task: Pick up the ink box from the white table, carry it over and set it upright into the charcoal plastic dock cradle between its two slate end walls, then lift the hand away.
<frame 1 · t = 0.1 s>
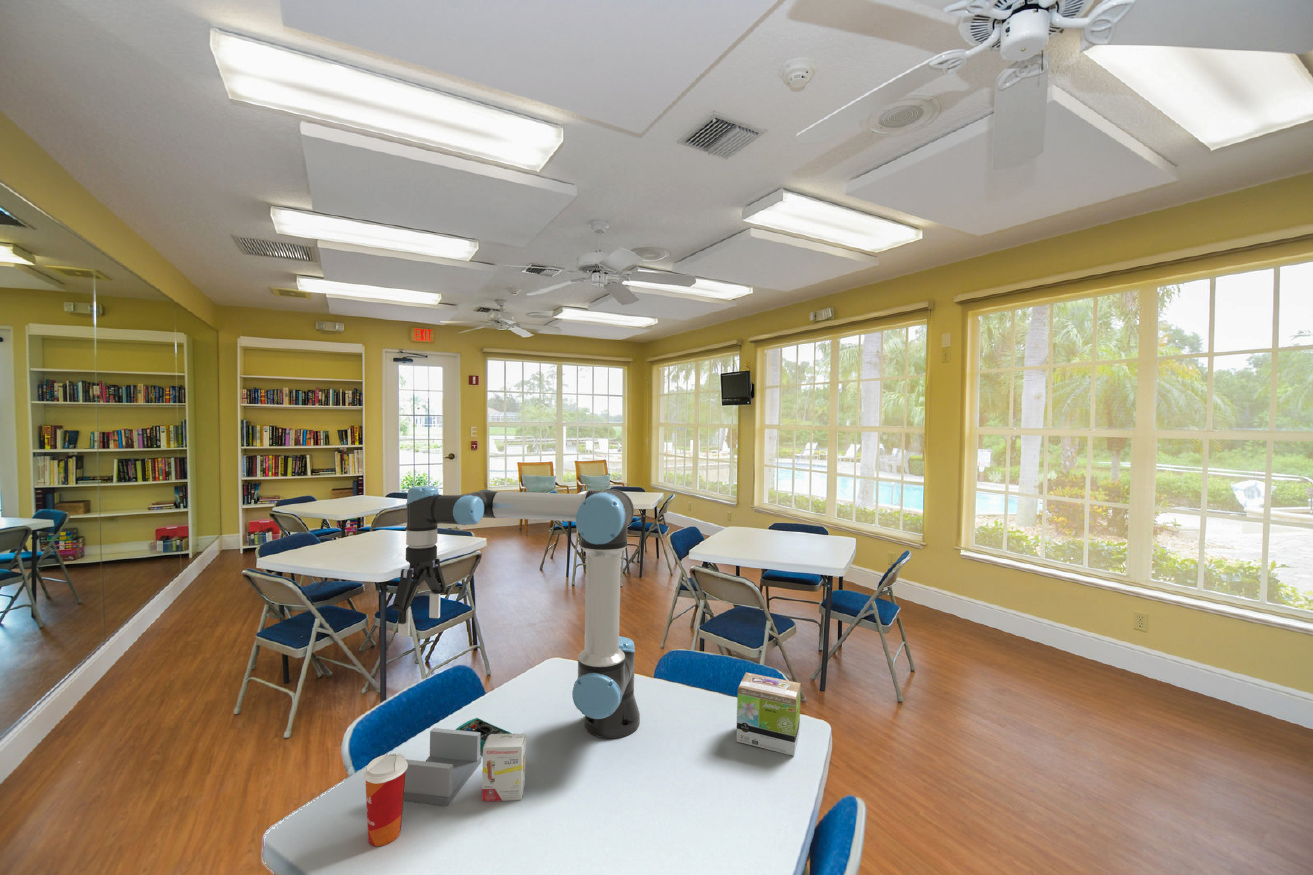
hand: (420, 626, 137), 28 cm above the table, fingers open, 13 cm apart
ink box: (503, 795, 114), on the table
dock: (440, 780, 118), on the table
paper cup: (384, 836, 102), on the table
digital multimeter: (483, 741, 135), on the table
tea box: (768, 741, 137), on the table
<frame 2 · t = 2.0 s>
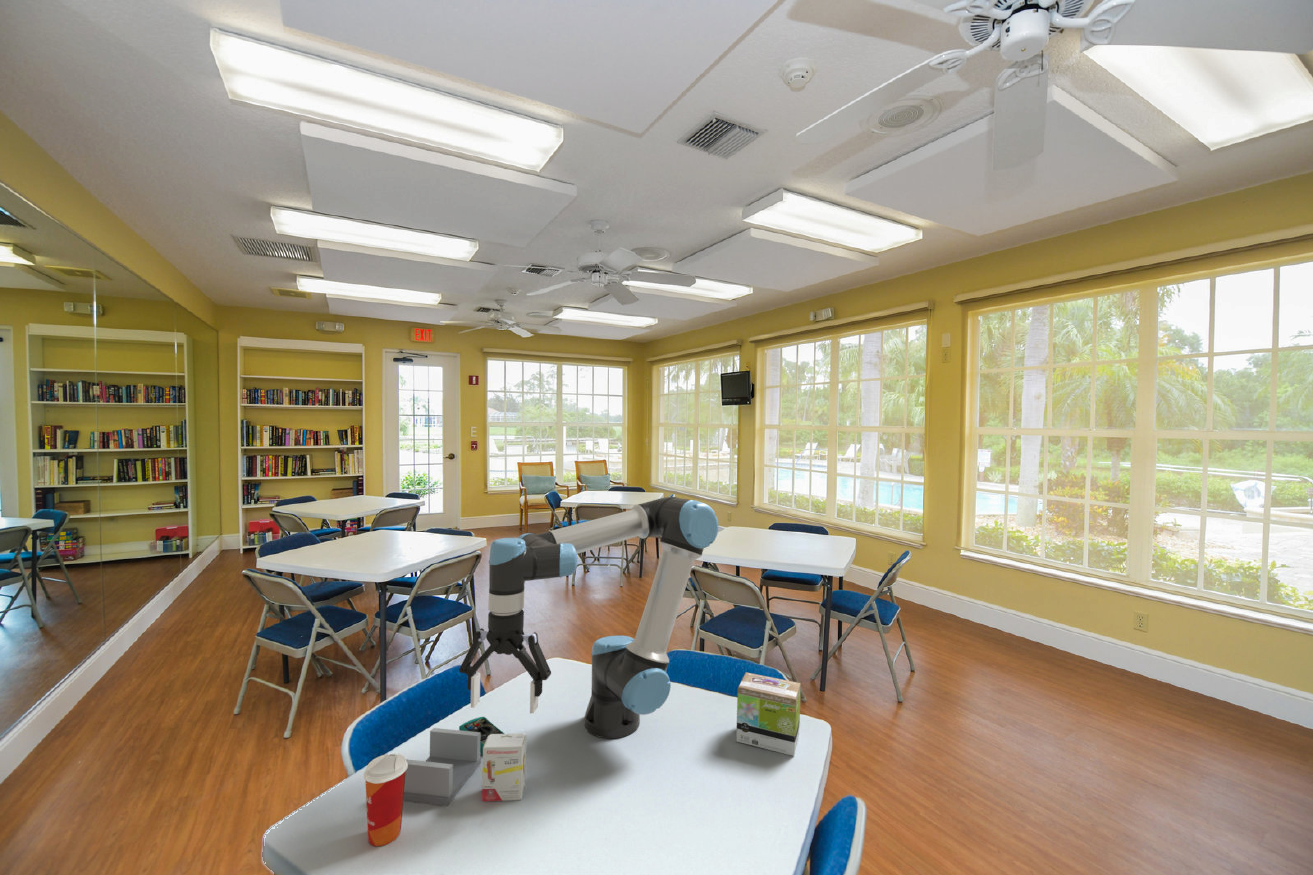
hand: (504, 707, 114), 19 cm above the table, fingers open, 13 cm apart
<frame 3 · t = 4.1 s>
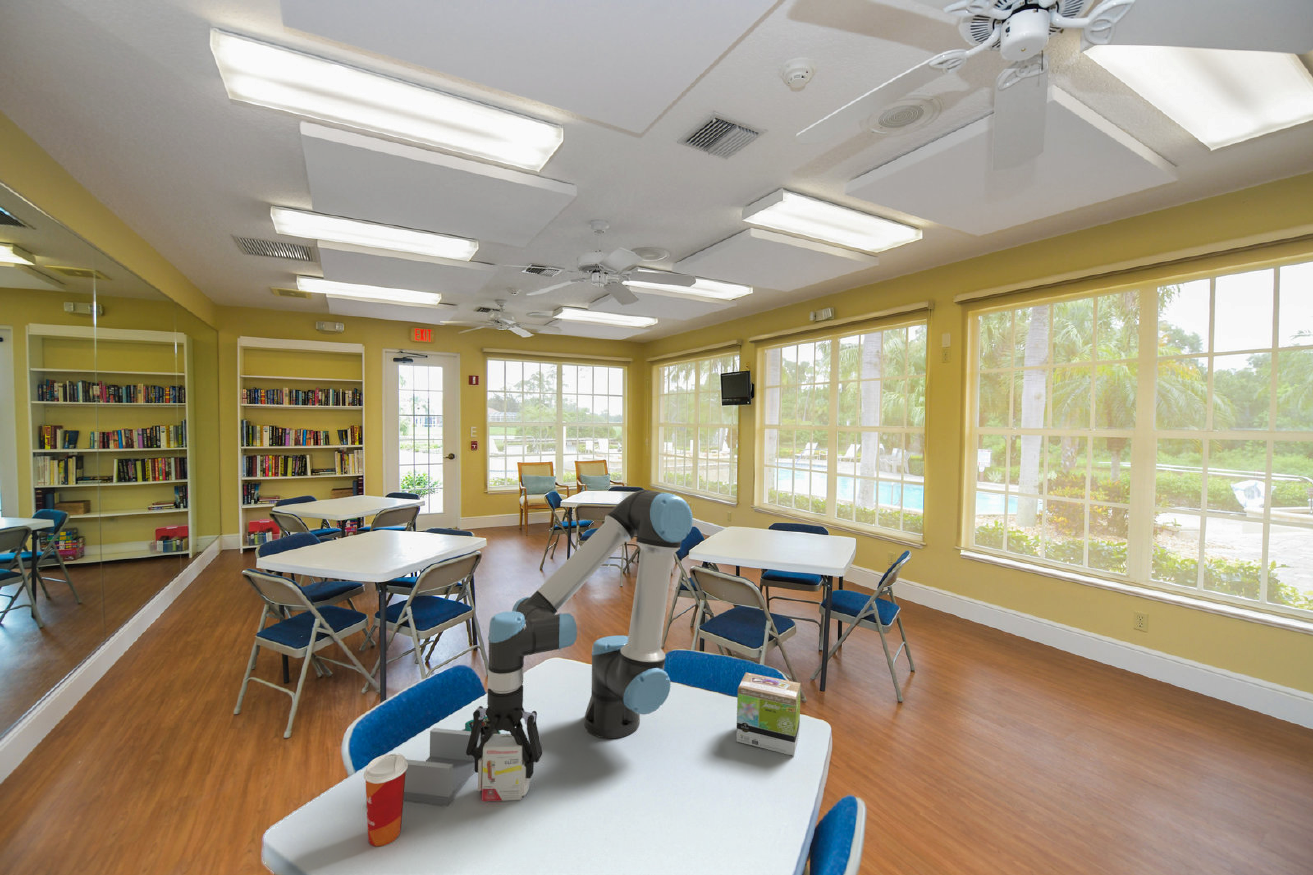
hand: (503, 789, 114), 1 cm above the table, fingers closed on ink box, 9 cm apart
ink box: (503, 795, 114), on the table, touching gripper
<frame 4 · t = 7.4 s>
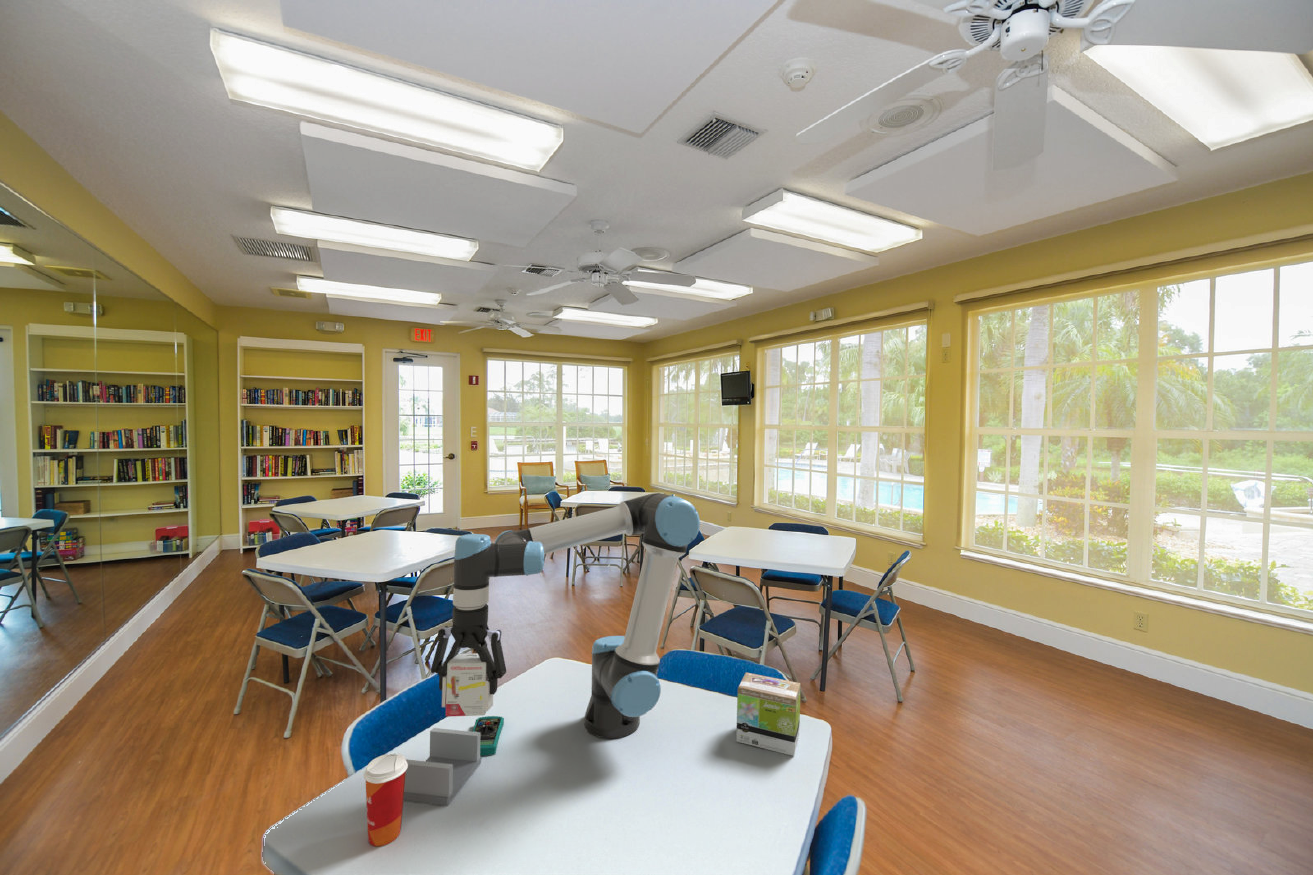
hand: (467, 706, 116), 18 cm above the table, fingers closed on ink box, 9 cm apart
ink box: (467, 712, 116), point 17 cm above the table, touching gripper
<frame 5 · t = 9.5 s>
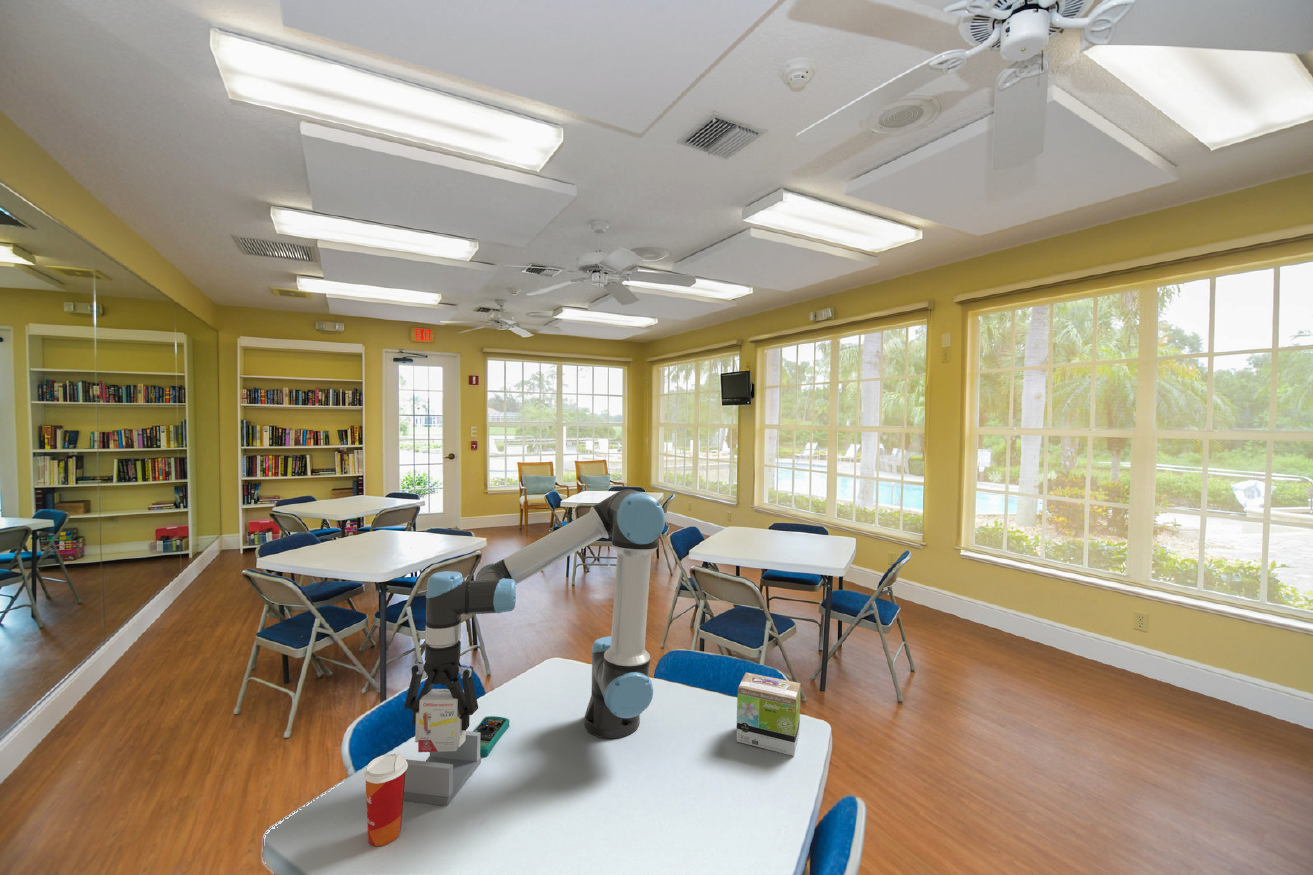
hand: (440, 741, 118), 9 cm above the table, fingers closed on ink box, 9 cm apart
ink box: (440, 747, 118), point 8 cm above the table, touching gripper
when the fingers open (4 cm above the table, at t = 10.9 s): ink box drops 1 cm, resting on dock.
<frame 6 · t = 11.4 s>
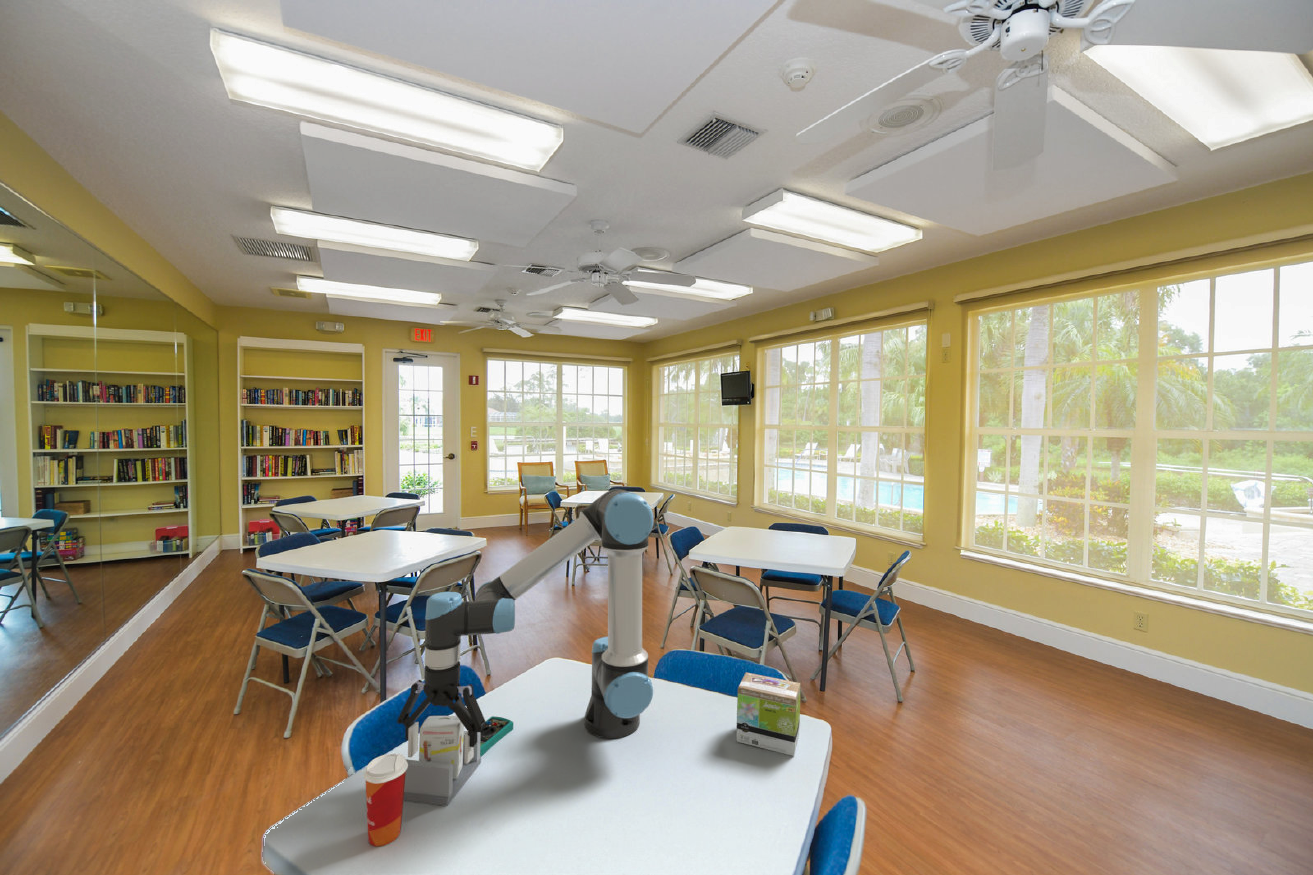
hand: (440, 757, 118), 5 cm above the table, fingers open, 13 cm apart
ink box: (440, 774, 118), point 1 cm above the table, touching dock
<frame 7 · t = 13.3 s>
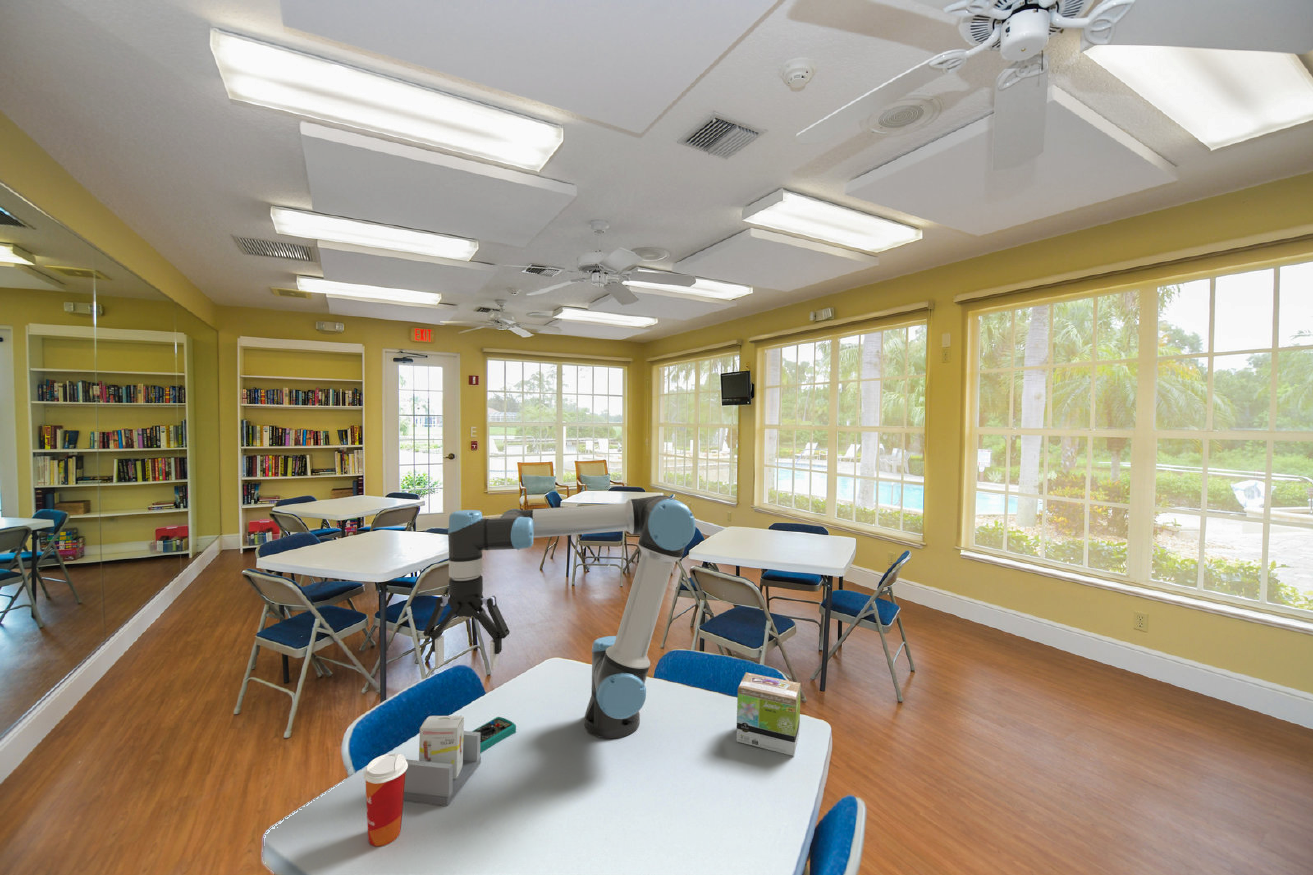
hand: (466, 666, 124), 24 cm above the table, fingers open, 13 cm apart
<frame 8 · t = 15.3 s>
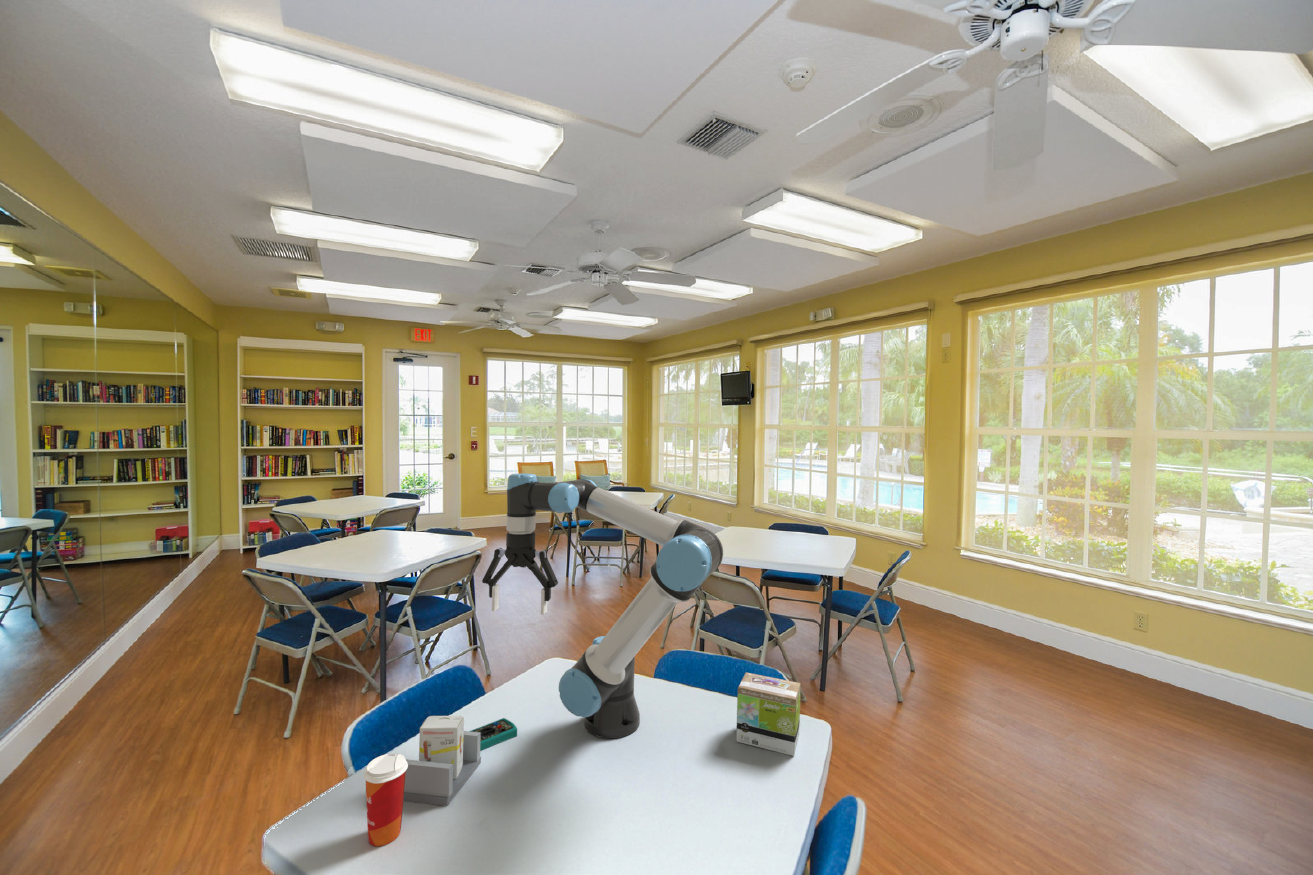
hand: (519, 611, 139), 32 cm above the table, fingers open, 13 cm apart
at the end: ink box 0.1 cm off-centre on the dock, point 1.3 cm above the dock's base; ink box tilted 0°; the gripper is holding nothing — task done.
